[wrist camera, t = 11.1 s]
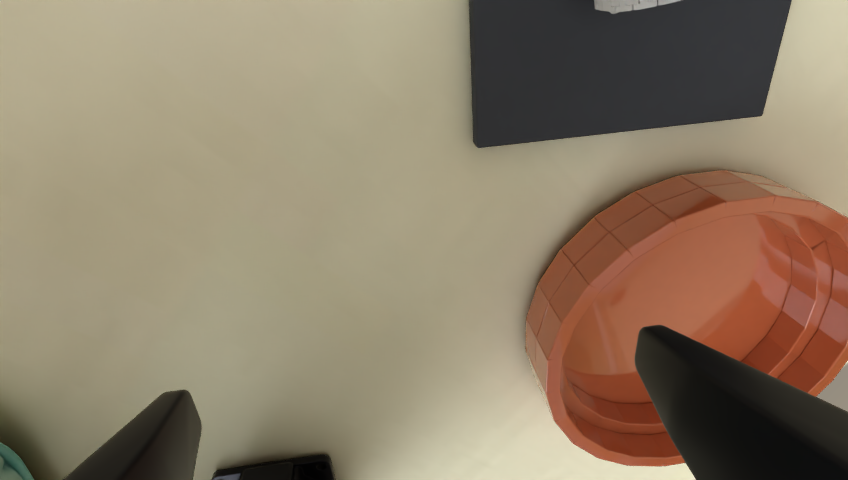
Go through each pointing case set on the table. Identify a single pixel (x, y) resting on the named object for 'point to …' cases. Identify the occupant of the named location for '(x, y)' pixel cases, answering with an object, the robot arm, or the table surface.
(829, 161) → the table surface
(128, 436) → the robot arm
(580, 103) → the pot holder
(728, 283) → the dish
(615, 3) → the wristwatch
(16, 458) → the lunch box
